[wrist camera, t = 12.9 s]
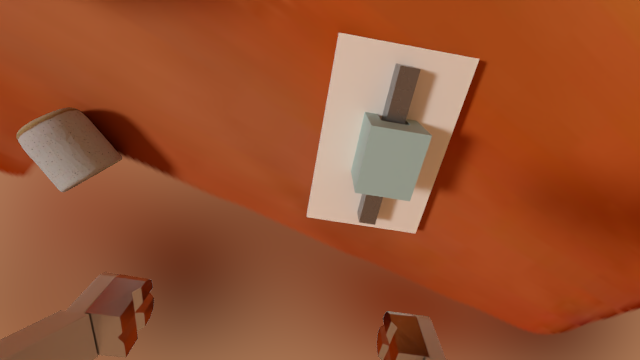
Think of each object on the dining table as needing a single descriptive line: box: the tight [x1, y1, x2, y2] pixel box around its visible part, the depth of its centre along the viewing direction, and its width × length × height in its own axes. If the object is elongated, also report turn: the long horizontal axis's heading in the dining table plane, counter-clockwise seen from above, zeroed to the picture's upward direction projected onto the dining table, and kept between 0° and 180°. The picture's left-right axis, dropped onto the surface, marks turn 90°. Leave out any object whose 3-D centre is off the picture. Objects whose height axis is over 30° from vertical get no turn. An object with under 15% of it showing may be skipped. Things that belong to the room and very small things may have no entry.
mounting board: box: [307, 33, 479, 233], centre depth 40 cm, size 24×16×2 cm, turn 170°
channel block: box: [351, 112, 432, 201], centre depth 37 cm, size 8×6×6 cm
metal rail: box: [357, 63, 421, 225], centre depth 38 cm, size 20×2×2 cm, turn 170°
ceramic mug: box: [17, 108, 122, 192], centre depth 38 cm, size 11×8×8 cm
